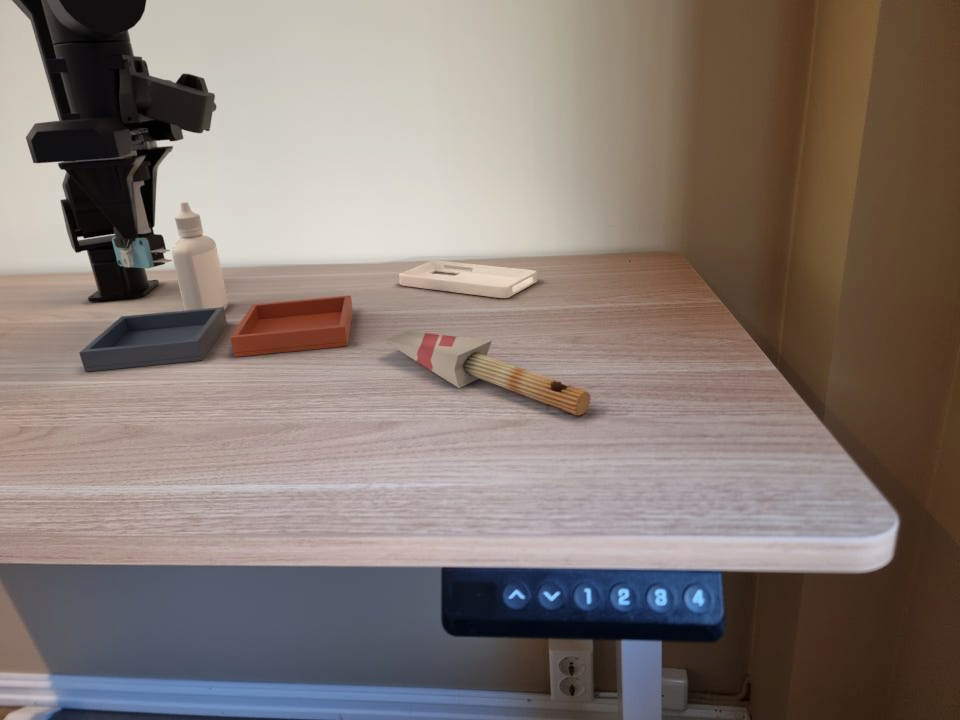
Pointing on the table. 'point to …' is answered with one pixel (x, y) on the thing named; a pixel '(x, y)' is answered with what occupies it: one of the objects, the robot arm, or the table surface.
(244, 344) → the terracotta tray
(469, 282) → the phone case
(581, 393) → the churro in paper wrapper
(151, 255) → the push button
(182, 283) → the eye dropper bottle
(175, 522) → the table surface
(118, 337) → the slate tray
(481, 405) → the table surface
